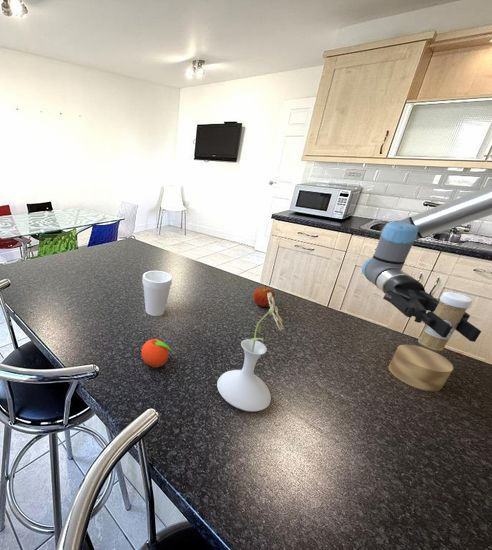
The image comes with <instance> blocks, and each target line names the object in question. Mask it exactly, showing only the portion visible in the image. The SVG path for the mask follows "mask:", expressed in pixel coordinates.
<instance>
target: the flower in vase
mask: <svg viewBox="0 0 492 550" xmlns="http://www.w3.org/2000/svg"><path fill="white" fill-rule="evenodd" d="M267 297H268V301H269V305H270V306H269V309H268V311H267V312H266V313H265V314H264V315H263V316H262V317H261V319H259V320H257V322H256V327H255V329H254V335H253V338H247V339H244V340H243V339H242V341H241V342H240V346H241V348H242V349H243V353H244V359H243V360H244V361H243V365H242V368H241V369H231V370H228V371H225V372H223V373H222V374H221V375H220V376H219V378H218V379H217V382H216V387H217V390H218V392H219V394H220V396H221V397H222V399H223V400H224V401H225V402H226V403H227V404H229V405H230V406H232V407H234V408H236V409H238V410H241V411H244V412H250V413H251V412H252V413H253V412H259V411H263V410H265V409H267V408H268V407H269V405H270V404H271V402H272V401H271V400H272V398H271V397H272V396H271V392H270V389H269V387H268V386H267V384H266V383H265V382H264V381H263V380H262V379H261V378H260V377H259V376H257V375H256V374H255V367H256V364H257V362H258V360H259V359H260V358H261V356H262V355H265V354H266V353H267V351H268V348H267V346H266V345H265V344H264V343H263V342H261V341H264V338H263V337H257V332H258V334H261V333H262V325H261V323H262V322H263V321H264V319H265V318H266V317H267V316H268V315H271V316H273V319H274V322H275V324H276V326H277V328H278V329H279V331H280V332H281V331H283V330H284V329H285V327H284V325H283V323H282V322H283V319H282V317H281V316H280V314H279V308H278V306H277V305H276V303H275V299H274V297H272V293H270V292H269V293H267Z"/></svg>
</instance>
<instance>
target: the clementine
mask: <svg viewBox="0 0 492 550" xmlns="http://www.w3.org/2000/svg"><path fill="white" fill-rule="evenodd" d="M169 352H171V354H172V355H173V354H174V353H173V350H172V349H171V347H169V345H167V343H165V342H164V341H162V340H161V339H158V338H153V339H151V338H150V339H149V340H146V342H145V343H144V344H143V345H142V347H141V353H140V355H141V358H142V360H143V362H144V363H145V364H146V365H147V366H149V367H151V368H159V367H162V366H163V365H164V364H165V363H166V362H167V361H168V360H169V356H170V355H169V354H170V353H169Z"/></svg>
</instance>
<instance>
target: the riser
mask: <svg viewBox="0 0 492 550" xmlns="http://www.w3.org/2000/svg"><path fill="white" fill-rule="evenodd" d="M388 370H389V372H390V373H391V374H392V376H394V377H395V378H396V379H398V380H399V381H401V382H402V383H403V384H406V385H408V386H410V387H412V388H414V389H418V390H421V391H425V392H439V391H441V390H442V389H443V388H444V385H445V384H446V382H447V380H448V379H449V377H450V375H451V374H452V372H453V371H454V365H453V363H452V362H451V361H450V360H449V359H447V358H446V357H444V356H443V355H442V354H439V353H437V352H436V351H434V350H431V349H429V348H426V347H424V346H419V345H414V344H400V345H398V346H397V348H396V350H395V352H394V353H393V356H392V358H391V360H390V362H389V364H388Z"/></svg>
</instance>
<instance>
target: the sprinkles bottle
mask: <svg viewBox="0 0 492 550" xmlns="http://www.w3.org/2000/svg"><path fill="white" fill-rule="evenodd" d="M439 298H440V301H439V304H438V306H437V307H436V309H435V311H434V312H433V313H434V314H436V315H437V316H438V317H440V318H441V319H442V320H443V321H445V322H446V323H447V324H449V325H450V326H451V327H452V329H451V330H450V332H449V334H448V336H447V337H446V338H445V337H441V336H440V335H439V334H438V333H437V332H435V331H434V330H433V329H432V328H431V327H429V326H428V325H427V324H425V327H424V329H423V332H422V334H421V335H420V338H418V340H417V342H418V343H419V344H420V346H422V347H423V348H426V349H428V350H431V351H434V352H442V351H444V350H445V347H446V346H447V343H448V342H449V340H450V339H451V338H452V336H453V334H454V333H455V331H456V330H455V329H456V327H457V326H458V324H459V322H460V320H461V318H462V316H463V314H464V313H465V312H467V310H468V309H469V308H470V306H471V305H472V303H473V299H472V298H471V297H469V296H467V295H465V294H462V293H458V292H452V291H444V292H443V293H442V294H441V296H440V297H439Z"/></svg>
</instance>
